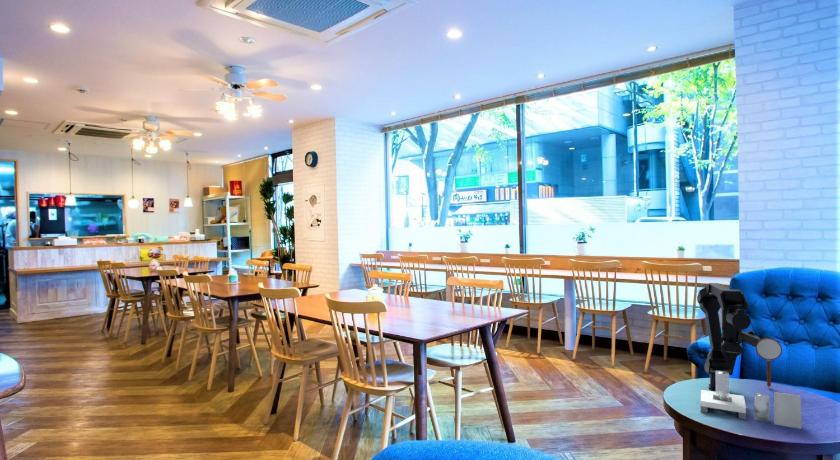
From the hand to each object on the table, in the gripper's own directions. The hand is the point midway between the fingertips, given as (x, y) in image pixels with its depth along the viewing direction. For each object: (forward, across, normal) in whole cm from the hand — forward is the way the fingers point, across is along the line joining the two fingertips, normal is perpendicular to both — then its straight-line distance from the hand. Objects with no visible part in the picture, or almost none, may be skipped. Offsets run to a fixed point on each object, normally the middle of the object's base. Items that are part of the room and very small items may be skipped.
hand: (731, 366), depth 173 cm
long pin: (+13, -10, +3) cm, 17 cm away
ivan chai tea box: (+13, -15, -15) cm, 25 cm away
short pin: (+13, -14, -8) cm, 21 cm away
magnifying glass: (+13, +24, -13) cm, 30 cm away
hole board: (+13, -10, +3) cm, 17 cm away
